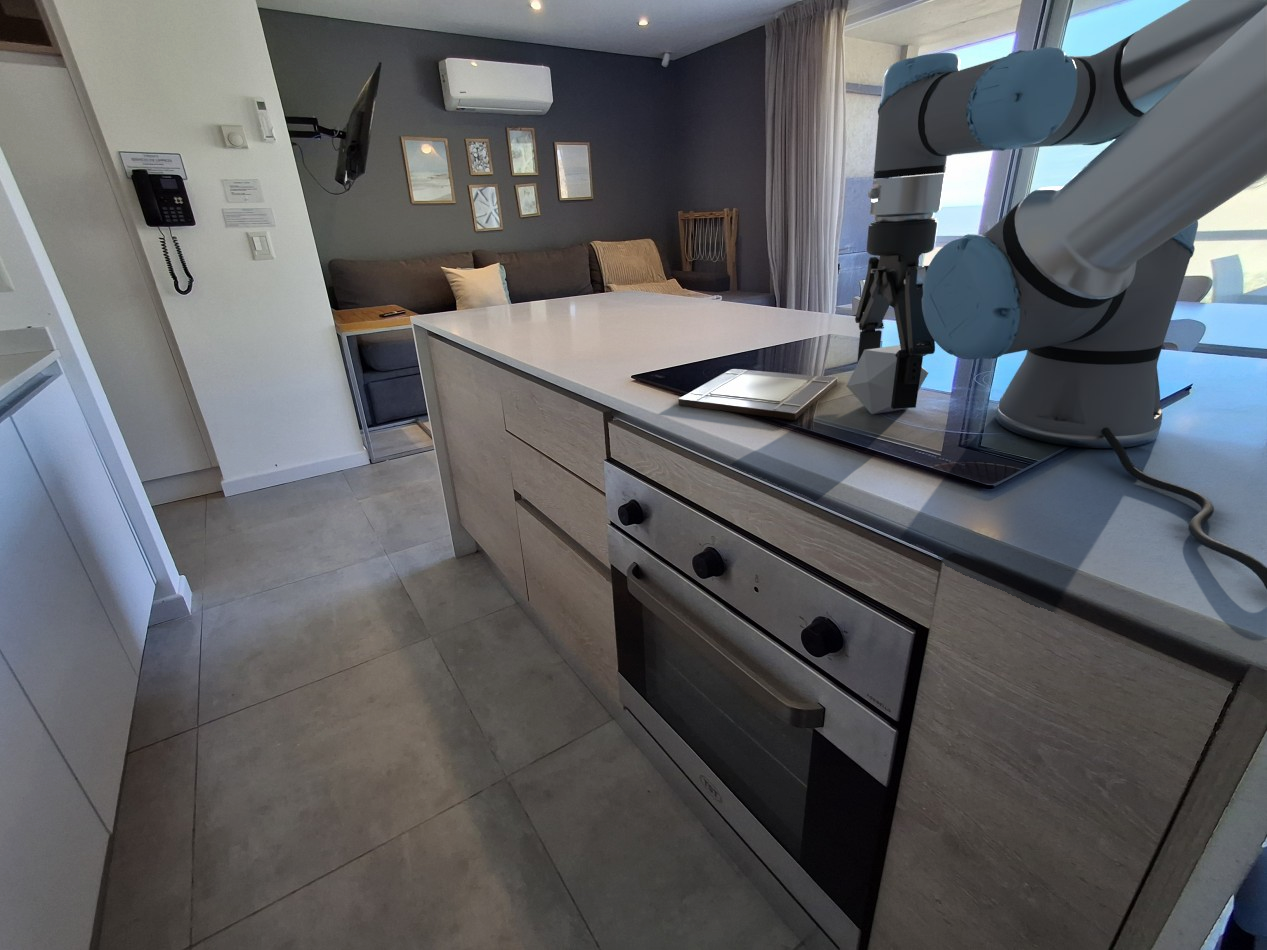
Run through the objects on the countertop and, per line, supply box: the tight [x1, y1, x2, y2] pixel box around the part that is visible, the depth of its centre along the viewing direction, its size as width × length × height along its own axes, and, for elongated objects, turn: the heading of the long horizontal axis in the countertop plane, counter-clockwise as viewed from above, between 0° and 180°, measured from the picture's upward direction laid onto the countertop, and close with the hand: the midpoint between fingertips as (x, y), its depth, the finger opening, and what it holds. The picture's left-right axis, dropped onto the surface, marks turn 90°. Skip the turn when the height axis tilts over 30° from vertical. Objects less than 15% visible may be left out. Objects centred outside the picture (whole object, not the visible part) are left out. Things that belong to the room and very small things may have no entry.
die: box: [846, 344, 929, 415], centre depth 75 cm, size 8×9×10 cm
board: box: [677, 368, 838, 421], centre depth 87 cm, size 18×18×1 cm
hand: (883, 391), depth 76 cm, fingers open, 13 cm apart
